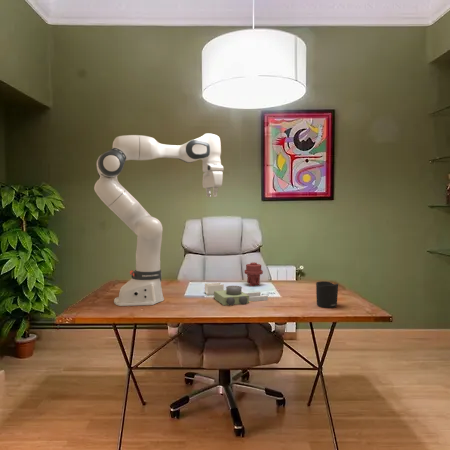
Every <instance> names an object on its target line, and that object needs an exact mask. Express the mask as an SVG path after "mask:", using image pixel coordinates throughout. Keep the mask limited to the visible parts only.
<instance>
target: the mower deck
mask: <svg viewBox="0 0 450 450" xmlns="http://www.w3.org/2000/svg"><path fill="white" fill-rule="evenodd" d="M242 289H243V288H242V286H240V285H227V286H226V289H224V290H222V291H214V295H213V298H215V299H214V300H215V301H216V302H218V301H219V302H218V303H220V304H221V305H223V306H230V305H232V306H234V304H235V305H246V304H250V302H249V301H253V302H262V301H268V298H269V297H268V295H261V292H260V291H256V292H254V291H253V292H243V291H242Z"/></svg>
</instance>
